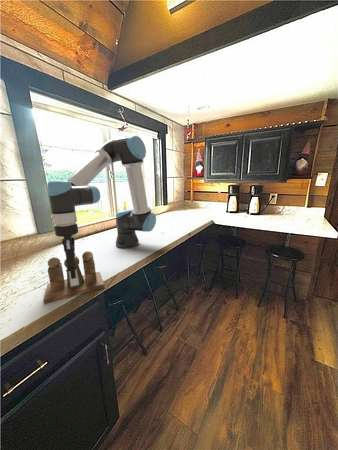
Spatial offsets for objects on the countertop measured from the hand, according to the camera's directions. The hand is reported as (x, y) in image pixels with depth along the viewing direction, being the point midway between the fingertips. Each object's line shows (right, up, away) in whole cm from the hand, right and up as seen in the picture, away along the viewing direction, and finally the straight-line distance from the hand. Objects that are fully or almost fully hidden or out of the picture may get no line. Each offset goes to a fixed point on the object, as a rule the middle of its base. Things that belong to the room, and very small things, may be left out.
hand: (74, 279), depth 72 cm
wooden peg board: (0, -3, +1) cm, 3 cm away
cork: (0, -2, +1) cm, 2 cm away
